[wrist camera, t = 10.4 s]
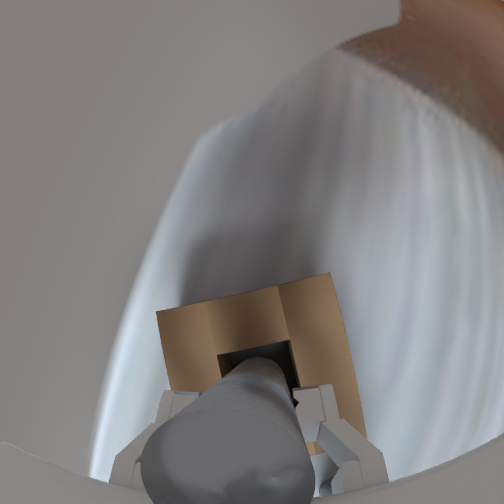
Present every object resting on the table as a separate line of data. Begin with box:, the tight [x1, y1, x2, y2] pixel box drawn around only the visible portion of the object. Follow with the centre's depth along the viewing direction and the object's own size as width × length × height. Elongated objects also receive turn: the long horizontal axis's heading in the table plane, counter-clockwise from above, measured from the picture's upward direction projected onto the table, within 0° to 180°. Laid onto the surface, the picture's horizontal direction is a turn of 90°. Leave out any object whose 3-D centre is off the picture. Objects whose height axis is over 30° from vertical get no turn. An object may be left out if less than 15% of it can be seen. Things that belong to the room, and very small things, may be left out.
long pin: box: [140, 357, 315, 504], centre depth 11 cm, size 4×4×14 cm
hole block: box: [156, 272, 367, 456], centre depth 20 cm, size 12×12×5 cm
